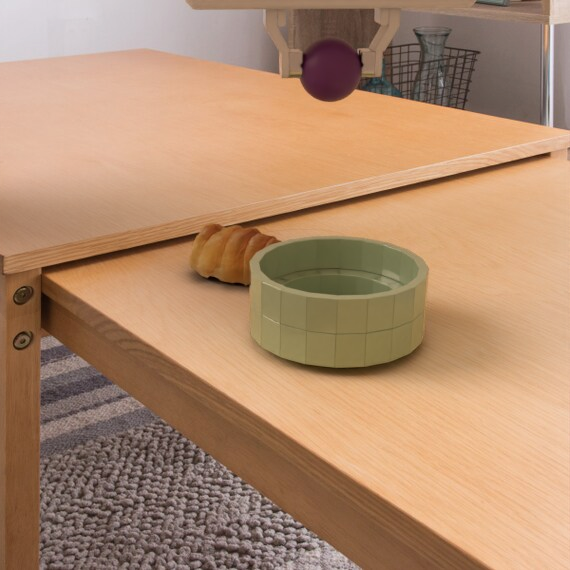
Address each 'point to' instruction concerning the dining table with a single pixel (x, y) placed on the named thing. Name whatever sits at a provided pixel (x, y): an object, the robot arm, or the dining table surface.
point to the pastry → (227, 251)
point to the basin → (337, 300)
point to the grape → (330, 69)
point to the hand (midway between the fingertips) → (329, 76)
